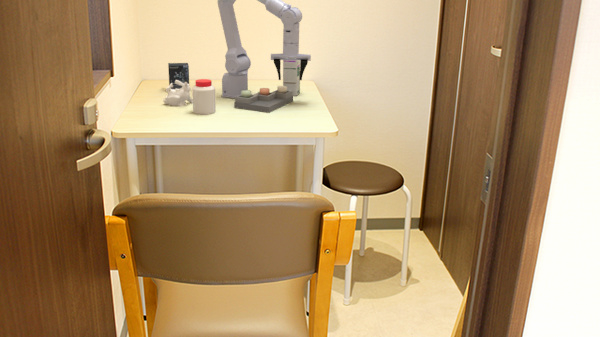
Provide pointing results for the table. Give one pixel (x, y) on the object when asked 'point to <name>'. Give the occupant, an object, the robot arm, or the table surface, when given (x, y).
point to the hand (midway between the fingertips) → (290, 79)
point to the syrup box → (291, 75)
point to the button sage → (246, 93)
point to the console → (264, 101)
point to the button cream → (282, 89)
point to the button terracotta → (264, 91)
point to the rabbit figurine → (178, 94)
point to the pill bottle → (204, 97)
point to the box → (178, 74)
